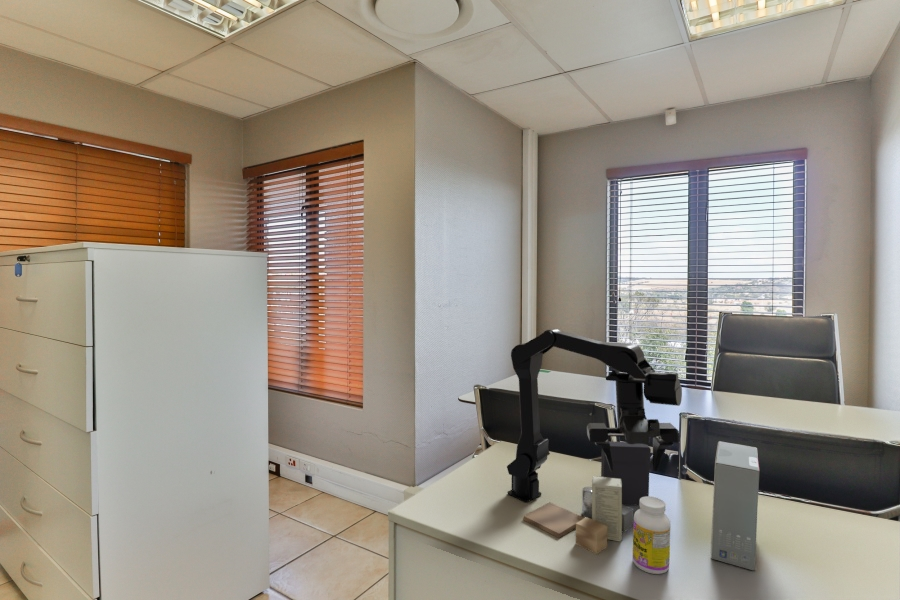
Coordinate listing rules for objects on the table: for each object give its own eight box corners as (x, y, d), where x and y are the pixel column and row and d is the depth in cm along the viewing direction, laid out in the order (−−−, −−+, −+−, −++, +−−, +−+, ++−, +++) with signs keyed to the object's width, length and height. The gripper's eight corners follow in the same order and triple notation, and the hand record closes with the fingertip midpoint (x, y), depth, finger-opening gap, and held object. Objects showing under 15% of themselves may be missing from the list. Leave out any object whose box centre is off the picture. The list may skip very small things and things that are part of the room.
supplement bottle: (626, 555, 95) (627, 494, 94) (657, 554, 95) (659, 493, 95) (642, 577, 88) (644, 510, 88) (676, 575, 89) (678, 509, 88)
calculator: (643, 499, 119) (645, 441, 118) (649, 507, 115) (650, 447, 114) (599, 496, 120) (600, 439, 119) (603, 505, 116) (604, 445, 115)
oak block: (575, 543, 99) (575, 523, 99) (586, 537, 102) (586, 516, 102) (596, 554, 95) (597, 533, 95) (607, 547, 98) (607, 526, 98)
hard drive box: (755, 573, 90) (759, 471, 88) (710, 560, 94) (713, 462, 93) (754, 535, 103) (757, 446, 102) (714, 525, 107) (716, 439, 106)
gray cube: (607, 525, 107) (607, 508, 107) (616, 519, 109) (617, 502, 109) (624, 532, 104) (624, 514, 104) (632, 526, 106) (633, 509, 106)
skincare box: (621, 532, 104) (622, 478, 103) (621, 542, 99) (622, 487, 99) (591, 527, 106) (592, 474, 105) (590, 537, 102) (591, 482, 101)
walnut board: (523, 519, 109) (523, 515, 109) (549, 506, 115) (549, 502, 115) (559, 538, 101) (559, 533, 101) (585, 522, 108) (585, 517, 108)
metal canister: (578, 514, 111) (579, 489, 111) (588, 509, 114) (588, 485, 114) (593, 521, 108) (594, 495, 108) (602, 515, 111) (603, 490, 111)
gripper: (591, 410, 98) (594, 484, 98) (686, 409, 94) (690, 486, 95) (585, 398, 109) (588, 465, 109) (670, 397, 105) (673, 466, 105)
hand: (633, 470), depth 104 cm, fingers open, 9 cm apart
